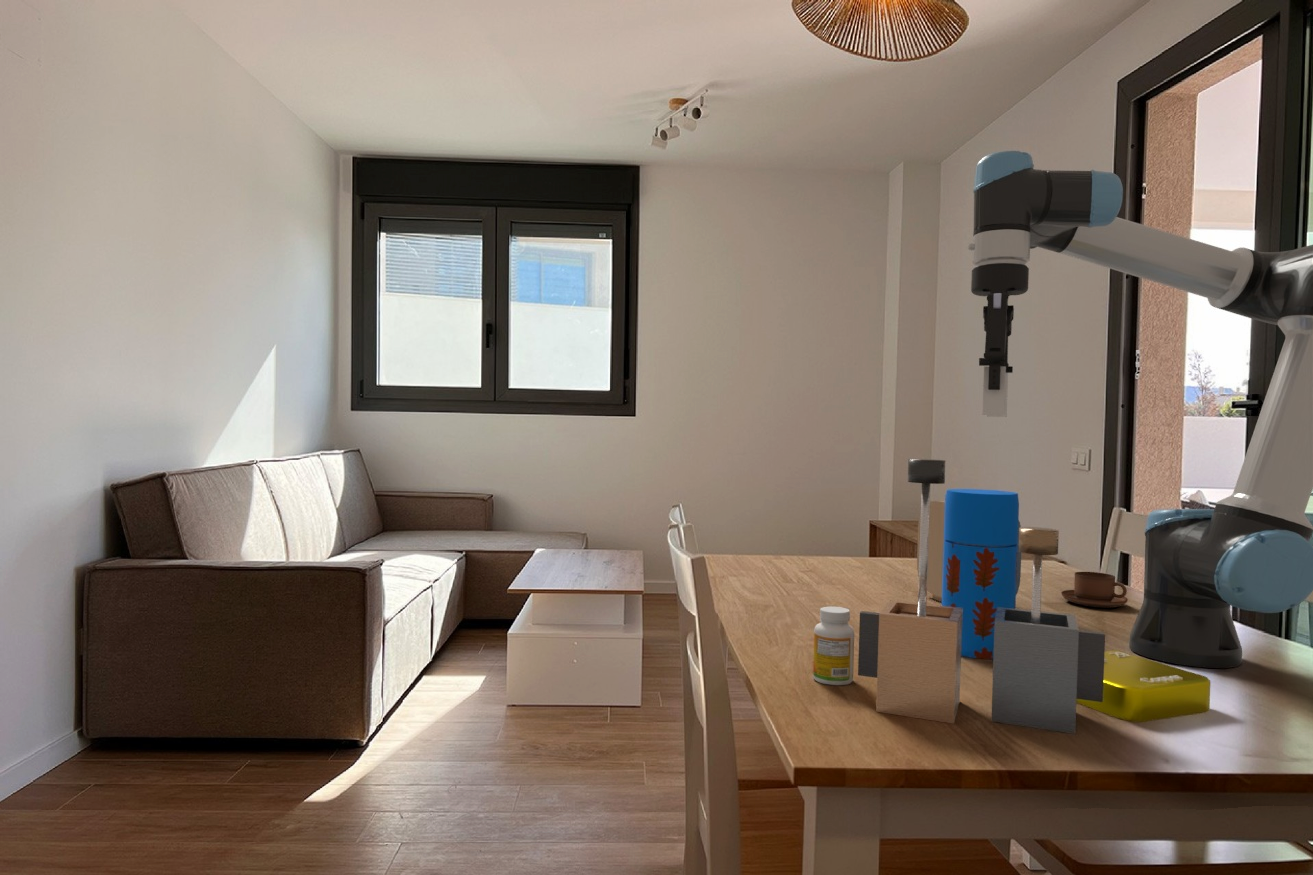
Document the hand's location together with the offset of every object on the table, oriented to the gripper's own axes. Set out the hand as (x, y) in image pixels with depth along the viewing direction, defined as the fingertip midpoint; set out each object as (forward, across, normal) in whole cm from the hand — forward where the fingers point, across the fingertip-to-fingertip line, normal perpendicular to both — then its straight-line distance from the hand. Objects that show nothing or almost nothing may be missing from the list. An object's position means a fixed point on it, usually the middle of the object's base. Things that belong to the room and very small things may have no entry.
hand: (995, 416), depth 122 cm
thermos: (+37, -13, -2) cm, 39 cm away
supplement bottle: (+37, +14, -19) cm, 44 cm away
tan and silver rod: (+35, +17, +6) cm, 39 cm away
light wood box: (+37, +20, -9) cm, 43 cm away
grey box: (+37, +17, +7) cm, 41 cm away
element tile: (+37, +4, +17) cm, 41 cm away
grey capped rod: (+27, +20, -7) cm, 34 cm away
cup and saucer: (+37, -64, +18) cm, 76 cm away
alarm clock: (+37, -50, -6) cm, 63 cm away
